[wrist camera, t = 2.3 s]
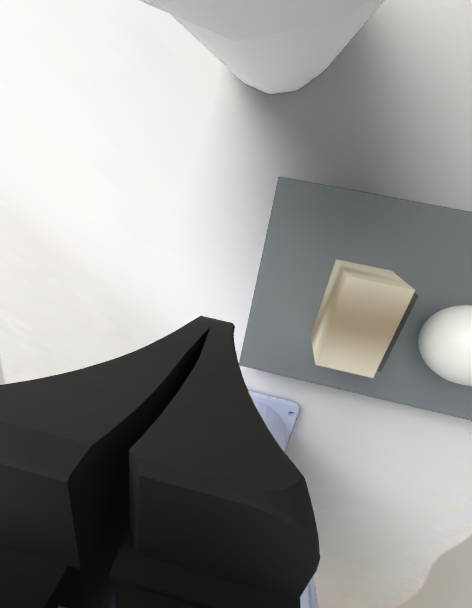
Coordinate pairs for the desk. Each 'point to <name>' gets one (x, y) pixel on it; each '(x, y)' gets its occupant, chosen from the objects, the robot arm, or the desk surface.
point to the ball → (449, 344)
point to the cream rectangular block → (360, 318)
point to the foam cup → (272, 35)
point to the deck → (367, 251)
